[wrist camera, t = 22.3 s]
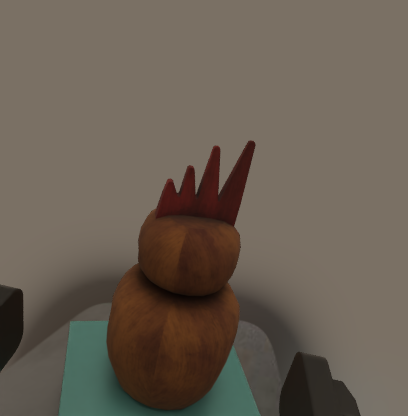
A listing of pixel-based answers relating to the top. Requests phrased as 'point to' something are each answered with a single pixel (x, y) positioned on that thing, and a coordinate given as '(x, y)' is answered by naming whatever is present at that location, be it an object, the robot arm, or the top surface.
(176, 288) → the wooden figurine
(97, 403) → the shelf
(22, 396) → the top surface
